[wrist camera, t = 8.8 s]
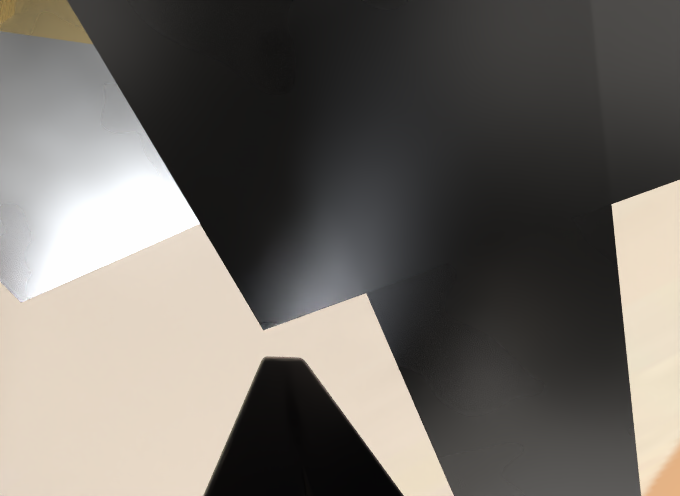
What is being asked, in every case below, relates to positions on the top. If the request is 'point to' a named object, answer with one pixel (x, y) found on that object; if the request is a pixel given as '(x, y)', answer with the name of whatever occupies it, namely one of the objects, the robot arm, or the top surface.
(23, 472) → the top surface
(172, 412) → the top surface
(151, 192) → the flange
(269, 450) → the robot arm
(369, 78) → the grey and tan model
